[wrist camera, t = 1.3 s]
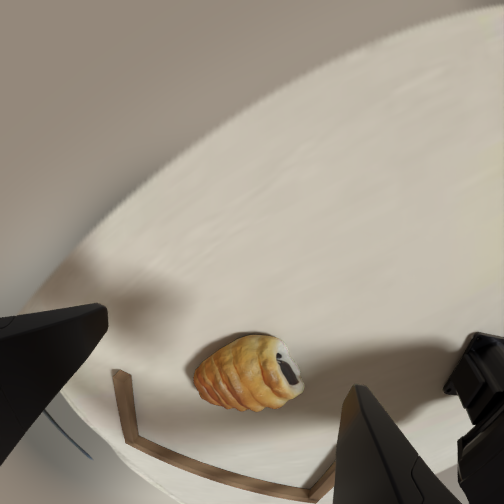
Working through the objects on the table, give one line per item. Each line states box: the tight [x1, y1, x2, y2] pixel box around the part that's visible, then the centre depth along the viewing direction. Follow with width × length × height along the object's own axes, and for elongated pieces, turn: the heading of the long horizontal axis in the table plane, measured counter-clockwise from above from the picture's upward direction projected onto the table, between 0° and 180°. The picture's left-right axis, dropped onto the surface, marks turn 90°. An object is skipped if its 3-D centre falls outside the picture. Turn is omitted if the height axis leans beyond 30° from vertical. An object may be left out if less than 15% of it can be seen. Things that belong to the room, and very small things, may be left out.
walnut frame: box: [113, 370, 336, 504], centre depth 27 cm, size 27×14×2 cm, turn 79°
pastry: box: [193, 335, 304, 412], centre depth 22 cm, size 9×7×4 cm
